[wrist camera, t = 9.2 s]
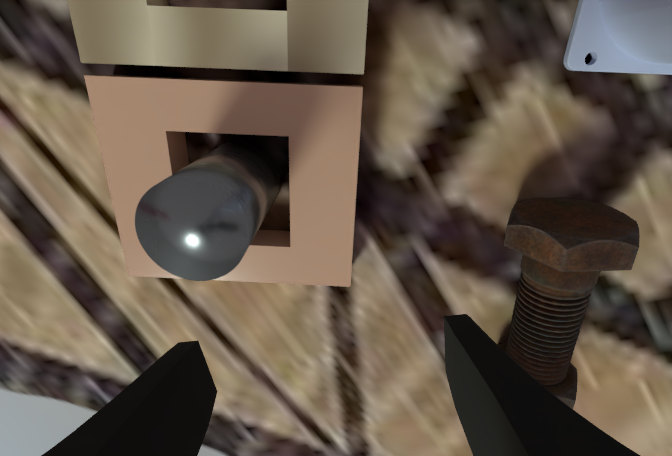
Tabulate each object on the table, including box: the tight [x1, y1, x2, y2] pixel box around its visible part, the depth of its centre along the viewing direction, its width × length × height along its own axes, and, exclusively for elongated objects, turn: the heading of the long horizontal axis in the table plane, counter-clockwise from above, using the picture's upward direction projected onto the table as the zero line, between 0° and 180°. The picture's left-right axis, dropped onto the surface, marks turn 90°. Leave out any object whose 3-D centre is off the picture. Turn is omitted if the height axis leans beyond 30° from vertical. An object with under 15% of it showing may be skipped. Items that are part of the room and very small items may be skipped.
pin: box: [135, 140, 281, 281], centre depth 16 cm, size 4×4×7 cm
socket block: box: [84, 75, 363, 287], centre depth 18 cm, size 12×10×2 cm
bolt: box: [498, 197, 639, 409], centre depth 20 cm, size 6×5×15 cm
